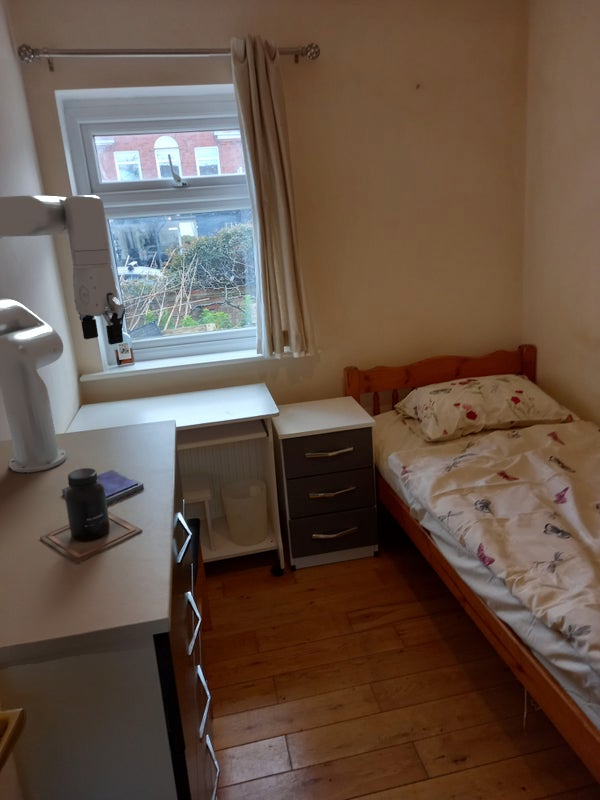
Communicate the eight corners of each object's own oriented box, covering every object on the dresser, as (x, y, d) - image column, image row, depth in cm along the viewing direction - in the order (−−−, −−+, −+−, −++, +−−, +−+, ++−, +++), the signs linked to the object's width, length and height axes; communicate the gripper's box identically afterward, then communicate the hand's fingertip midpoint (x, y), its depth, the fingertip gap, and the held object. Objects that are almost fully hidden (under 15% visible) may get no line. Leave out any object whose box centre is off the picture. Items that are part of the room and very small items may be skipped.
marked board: (40, 539, 103) (39, 536, 103) (103, 510, 112) (103, 507, 112) (77, 564, 95) (76, 561, 95) (142, 531, 104) (142, 528, 104)
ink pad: (62, 494, 120) (61, 488, 119) (112, 474, 128) (111, 468, 128) (93, 511, 112) (91, 504, 112) (143, 488, 121) (143, 482, 120)
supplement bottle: (98, 544, 100) (88, 483, 96) (63, 541, 101) (52, 481, 98) (117, 524, 106) (108, 466, 103) (84, 521, 108) (74, 464, 104)
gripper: (53, 259, 119) (66, 339, 124) (97, 261, 108) (110, 349, 114) (86, 257, 124) (97, 333, 130) (131, 258, 114) (141, 342, 119)
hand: (103, 340), depth 122 cm, fingers open, 9 cm apart
